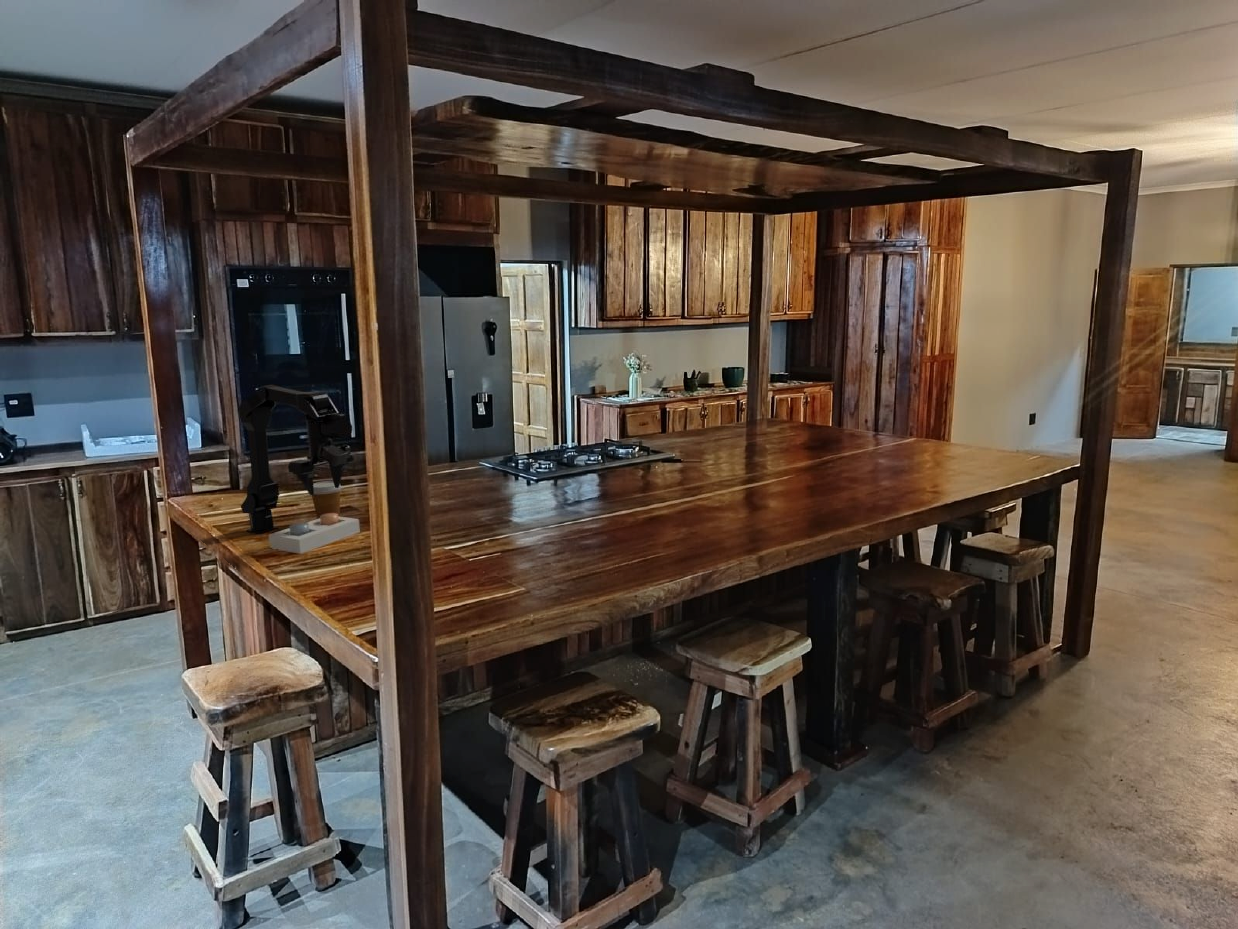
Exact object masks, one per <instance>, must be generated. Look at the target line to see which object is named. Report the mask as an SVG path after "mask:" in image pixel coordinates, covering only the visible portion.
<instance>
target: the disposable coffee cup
mask: <svg viewBox="0 0 1238 929" xmlns="http://www.w3.org/2000/svg"><path fill="white" fill-rule="evenodd" d="M313 487H314V495H311V498H312V499H311V500H312V503H313V507H314V510H315V515H316V519H319V518H320V516H321V515H323V514H327V513H337V514H338V516H339V517H341V516H340V515H341V514H340V512H341V490H342V487H343V486H342V485H341V484H340V485H339V488H335V485H334V483H333V480H325V481H318V482H315V483H314V482H313Z"/></svg>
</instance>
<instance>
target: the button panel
mask: <svg viewBox="0 0 1238 929" xmlns="http://www.w3.org/2000/svg"><path fill="white" fill-rule="evenodd" d="M338 520H339V523H336V524H333V525H330V526H326V525H321V521H320V518H319V519H317V518H316V519H314V520H310V521H308V522H306V523H308V525H309V533H307V534H304V535H301V536H294V535H290V527H289V528H286V529H282V530H279V531H276V532H273V533H270V534H268V540H269V548H273V550H276V549H278V551H283V552H289V553H293V554H294V553H295V554H299V555H300V554H301V555H302V554H304V553H307V552H310V551H313V550H315V549H318V548H320V547H324V546H326V545H329V544H331V543H334V542H337V541H339V540H340V541H341V540H342V539H345V538H348V537H351V536H353V535H356V534H359V533H361V530H360V520H359V519H358V518H353V517H346V516H345V517H344V516H340V517H339V516H338Z"/></svg>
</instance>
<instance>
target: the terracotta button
mask: <svg viewBox="0 0 1238 929" xmlns="http://www.w3.org/2000/svg"><path fill="white" fill-rule="evenodd" d="M320 521H321V525H326V526H330V525H333V524H336V523H339V520H338V514H337V513H327V514H323V515H321V516H320Z"/></svg>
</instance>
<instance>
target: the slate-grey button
mask: <svg viewBox="0 0 1238 929" xmlns="http://www.w3.org/2000/svg"><path fill="white" fill-rule="evenodd" d="M289 528H290V535H294V536H301V535H304V534H307V533H309V525H308V523H307V522H296V523H292V524H290V525H289Z"/></svg>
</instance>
